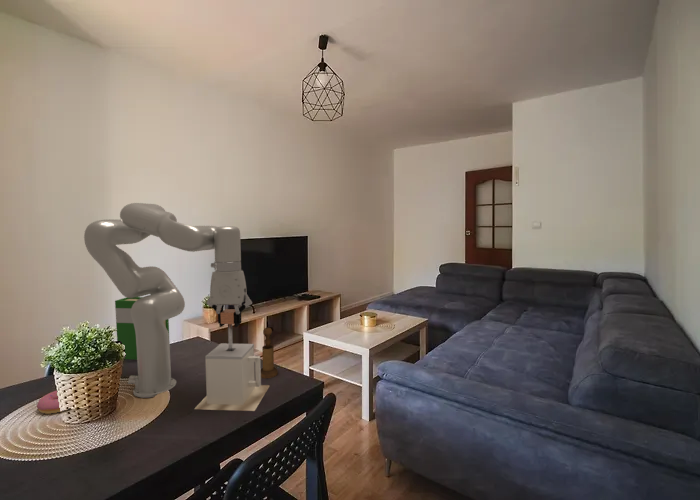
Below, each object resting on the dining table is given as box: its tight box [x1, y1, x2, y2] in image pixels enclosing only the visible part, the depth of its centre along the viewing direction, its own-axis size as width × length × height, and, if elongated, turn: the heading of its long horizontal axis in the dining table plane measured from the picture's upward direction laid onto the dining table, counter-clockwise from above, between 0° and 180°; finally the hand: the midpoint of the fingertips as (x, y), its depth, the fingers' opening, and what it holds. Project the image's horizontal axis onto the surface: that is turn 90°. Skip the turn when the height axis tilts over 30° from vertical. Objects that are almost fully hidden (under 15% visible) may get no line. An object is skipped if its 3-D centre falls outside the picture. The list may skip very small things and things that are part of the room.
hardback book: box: [114, 296, 170, 361], centre depth 146 cm, size 18×7×24 cm, turn 84°
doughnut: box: [36, 390, 61, 415], centre depth 107 cm, size 11×11×4 cm
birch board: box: [194, 384, 271, 412], centre depth 111 cm, size 18×16×1 cm
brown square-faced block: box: [221, 308, 236, 351], centre depth 110 cm, size 8×8×19 cm
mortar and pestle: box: [261, 327, 279, 379], centre depth 126 cm, size 7×6×18 cm
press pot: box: [205, 342, 262, 405], centre depth 111 cm, size 15×11×15 cm
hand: (230, 325), depth 110 cm, fingers closed on brown square-faced block, 4 cm apart
